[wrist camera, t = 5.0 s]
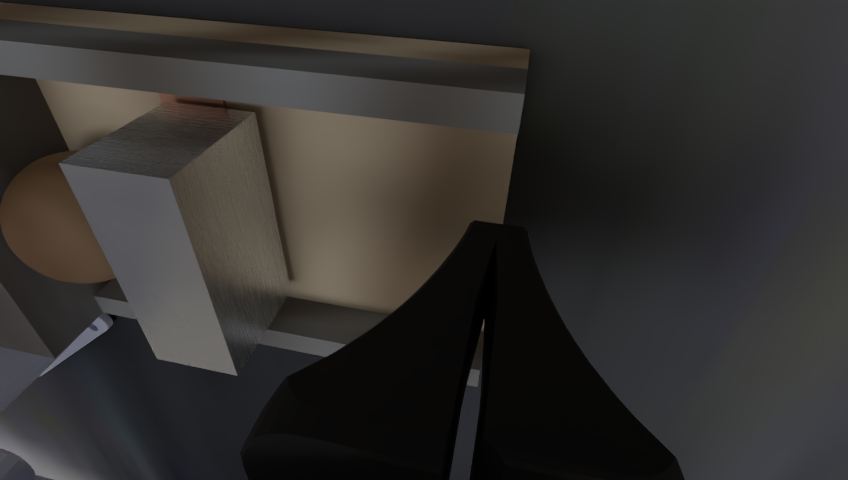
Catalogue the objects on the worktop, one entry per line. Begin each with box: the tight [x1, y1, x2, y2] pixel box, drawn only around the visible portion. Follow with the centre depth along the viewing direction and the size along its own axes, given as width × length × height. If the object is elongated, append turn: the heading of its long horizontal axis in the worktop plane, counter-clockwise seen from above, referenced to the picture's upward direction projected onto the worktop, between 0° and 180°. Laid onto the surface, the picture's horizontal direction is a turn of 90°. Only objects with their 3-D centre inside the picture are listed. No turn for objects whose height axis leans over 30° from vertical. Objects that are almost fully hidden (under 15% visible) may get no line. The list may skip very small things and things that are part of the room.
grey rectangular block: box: [59, 102, 291, 376], centre depth 12 cm, size 2×6×3 cm, turn 179°
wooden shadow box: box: [0, 2, 530, 387], centre depth 13 cm, size 15×9×5 cm, turn 89°
